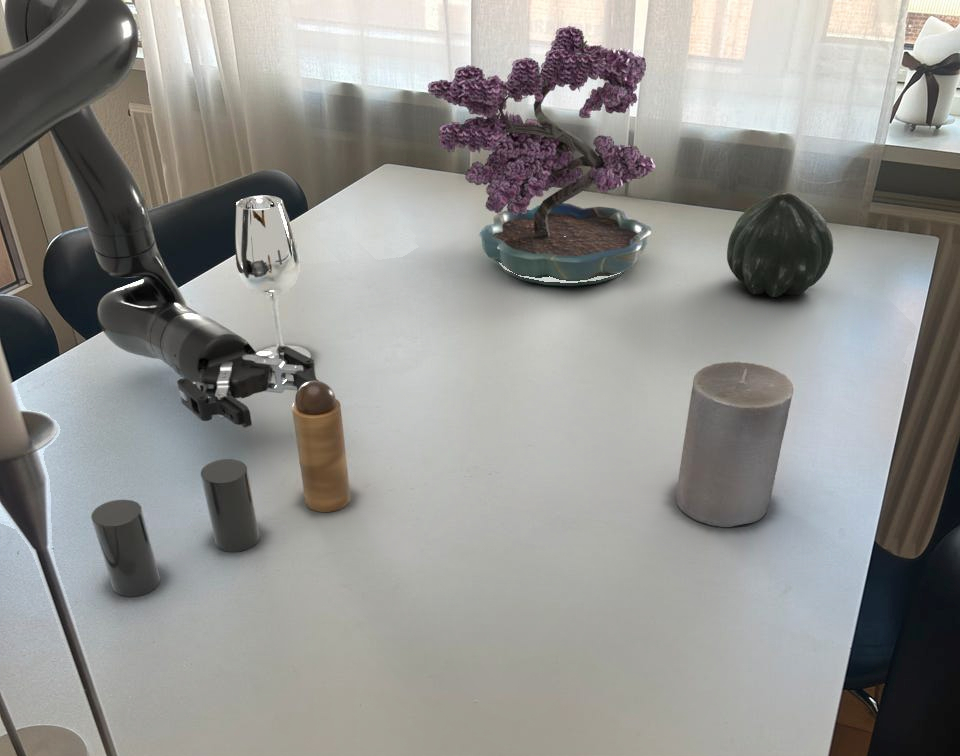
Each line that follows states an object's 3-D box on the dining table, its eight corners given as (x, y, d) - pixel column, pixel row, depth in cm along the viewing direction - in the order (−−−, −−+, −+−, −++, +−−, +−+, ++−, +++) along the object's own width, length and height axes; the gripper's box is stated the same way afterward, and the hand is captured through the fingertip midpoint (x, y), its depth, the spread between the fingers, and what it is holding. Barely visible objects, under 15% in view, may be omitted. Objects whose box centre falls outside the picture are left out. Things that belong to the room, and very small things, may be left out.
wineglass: (242, 368, 131) (215, 210, 118) (267, 344, 137) (244, 190, 124) (297, 375, 129) (275, 215, 116) (320, 350, 135) (302, 195, 122)
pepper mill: (321, 517, 104) (306, 398, 95) (296, 499, 107) (279, 381, 98) (359, 501, 106) (347, 383, 98) (333, 483, 109) (320, 367, 100)
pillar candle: (692, 471, 110) (711, 341, 101) (779, 492, 107) (808, 360, 97) (662, 514, 104) (679, 380, 94) (754, 538, 100) (782, 401, 91)
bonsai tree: (637, 232, 170) (658, 8, 149) (671, 293, 149) (700, 43, 128) (432, 238, 168) (423, 13, 147) (437, 301, 148) (427, 49, 127)
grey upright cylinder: (229, 557, 99) (214, 487, 93) (207, 538, 101) (192, 469, 96) (267, 540, 101) (255, 471, 96) (245, 522, 103) (232, 454, 98)
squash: (806, 227, 155) (766, 157, 145) (866, 263, 145) (826, 190, 135) (736, 295, 159) (691, 232, 148) (789, 335, 148) (745, 270, 138)
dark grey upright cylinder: (125, 602, 93) (103, 531, 88) (105, 581, 96) (83, 511, 91) (168, 584, 95) (149, 513, 90) (147, 563, 98) (128, 493, 93)
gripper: (142, 341, 108) (216, 393, 99) (257, 307, 115) (336, 352, 106) (157, 404, 113) (229, 460, 104) (266, 368, 120) (343, 416, 110)
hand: (283, 405), depth 105 cm, fingers open, 8 cm apart
